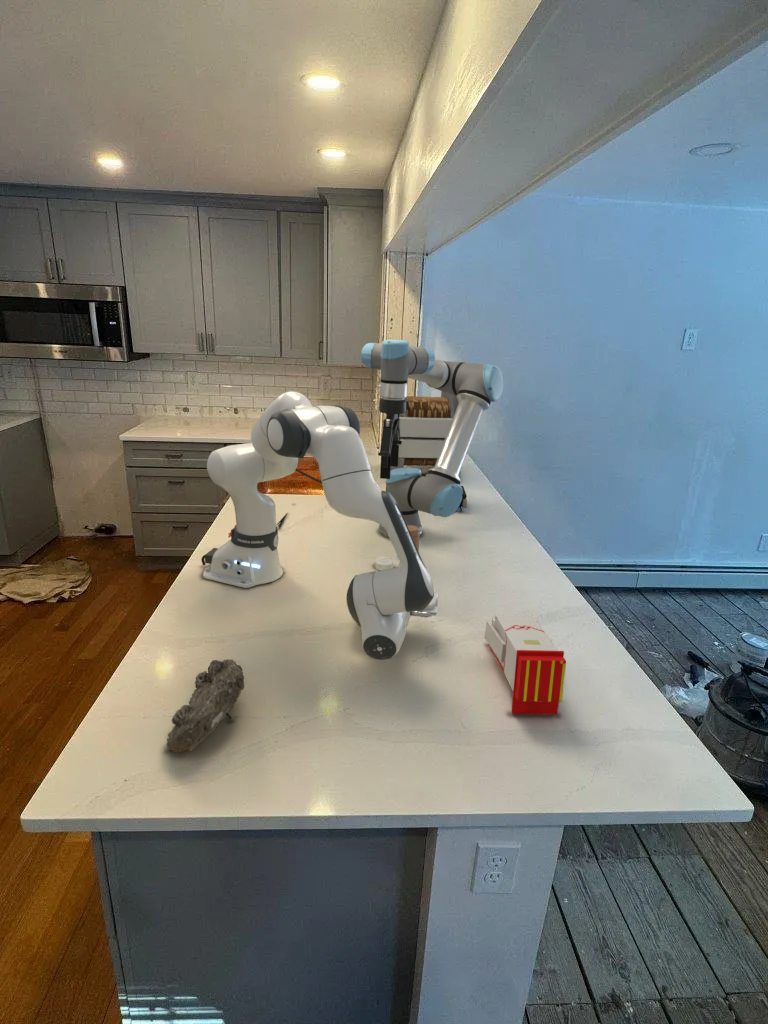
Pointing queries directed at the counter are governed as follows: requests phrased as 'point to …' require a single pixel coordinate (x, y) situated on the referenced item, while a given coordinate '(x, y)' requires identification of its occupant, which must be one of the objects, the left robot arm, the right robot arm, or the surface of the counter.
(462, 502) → the figurine character
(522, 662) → the toy
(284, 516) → the feather
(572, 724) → the counter surface
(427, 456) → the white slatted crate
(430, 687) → the counter surface
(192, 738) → the fossil
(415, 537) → the tan brown cylinder
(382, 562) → the lid
